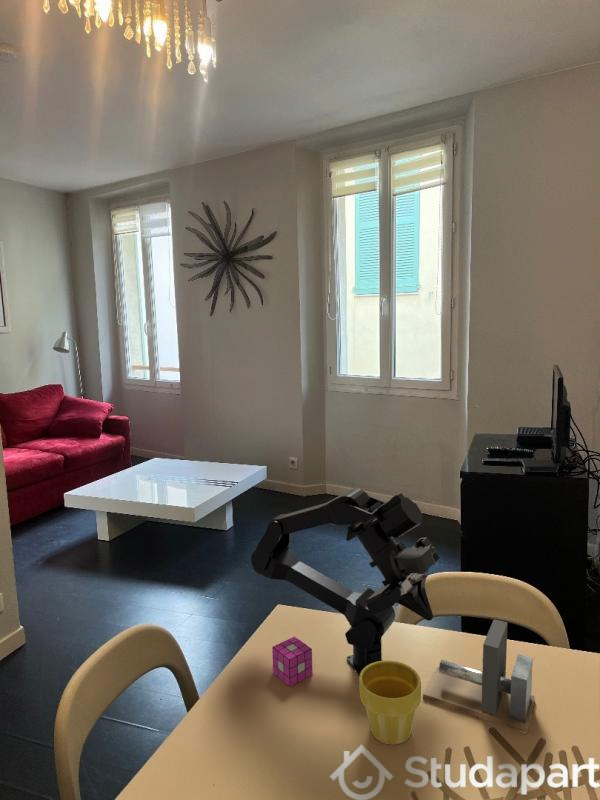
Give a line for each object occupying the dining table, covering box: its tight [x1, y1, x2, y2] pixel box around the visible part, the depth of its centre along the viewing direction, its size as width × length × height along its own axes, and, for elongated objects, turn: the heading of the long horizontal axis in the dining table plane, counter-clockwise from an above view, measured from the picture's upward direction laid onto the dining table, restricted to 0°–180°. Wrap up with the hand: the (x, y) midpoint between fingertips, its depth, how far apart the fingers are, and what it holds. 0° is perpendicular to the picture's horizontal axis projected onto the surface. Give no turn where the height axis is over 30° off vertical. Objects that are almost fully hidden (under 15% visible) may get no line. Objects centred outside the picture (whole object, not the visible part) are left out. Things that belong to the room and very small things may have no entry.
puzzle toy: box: [271, 636, 313, 687], centre depth 110 cm, size 6×6×6 cm
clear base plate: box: [422, 666, 536, 734], centre depth 101 cm, size 18×9×1 cm, turn 60°
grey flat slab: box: [481, 619, 508, 715], centre depth 99 cm, size 2×9×12 cm, turn 150°
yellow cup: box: [358, 660, 422, 746], centre depth 94 cm, size 10×10×10 cm
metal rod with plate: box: [438, 653, 534, 723], centre depth 100 cm, size 16×7×8 cm, turn 60°
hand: (431, 619), depth 104 cm, fingers closed
